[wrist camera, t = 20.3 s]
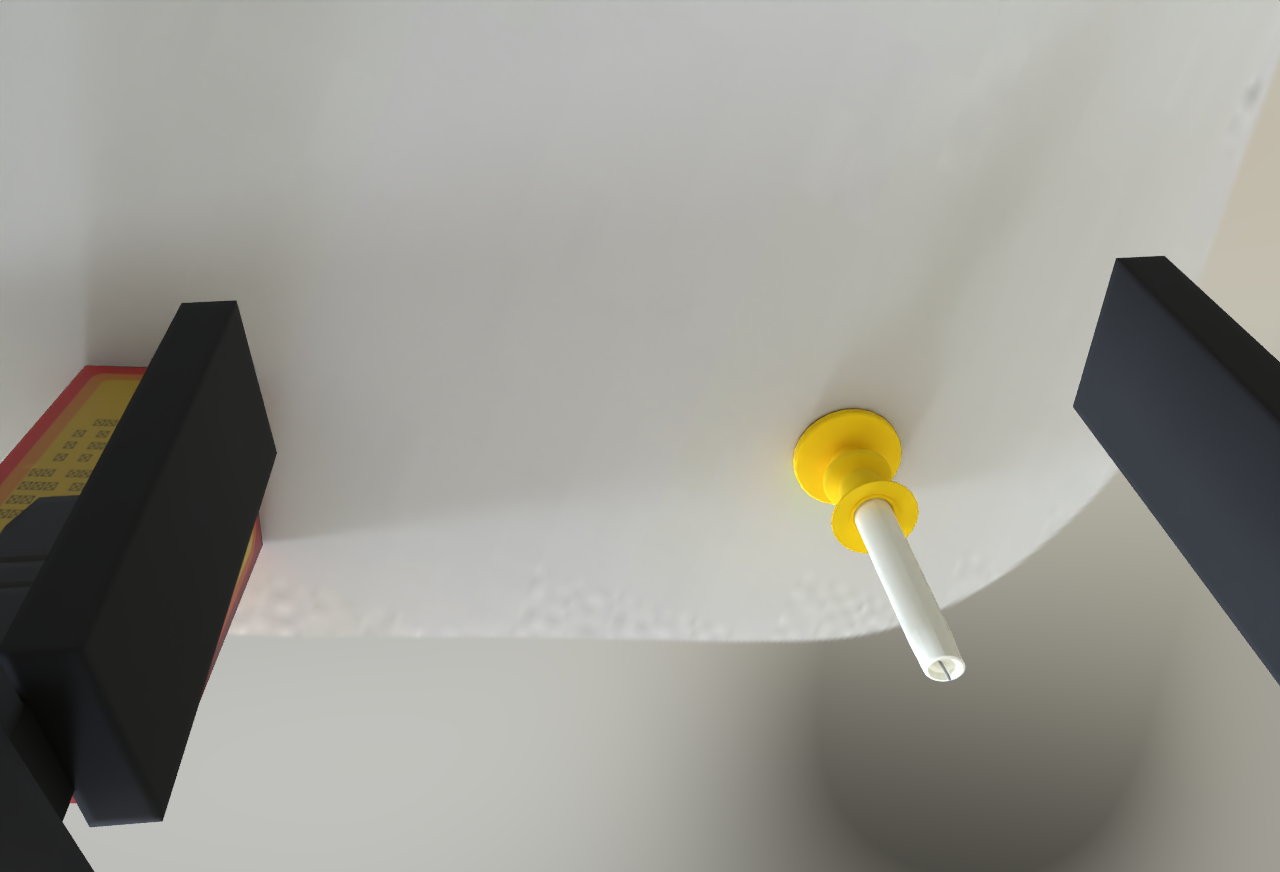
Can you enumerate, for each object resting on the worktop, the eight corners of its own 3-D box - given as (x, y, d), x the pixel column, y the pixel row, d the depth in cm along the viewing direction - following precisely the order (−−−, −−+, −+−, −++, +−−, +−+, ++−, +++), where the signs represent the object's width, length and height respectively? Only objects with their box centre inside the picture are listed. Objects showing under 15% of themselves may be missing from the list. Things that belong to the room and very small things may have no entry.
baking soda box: (85, 365, 46) (-116, 599, 32) (239, 370, 46) (108, 601, 33) (122, 542, 50) (-39, 812, 37) (262, 544, 51) (155, 811, 37)
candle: (847, 516, 53) (948, 752, 39) (770, 465, 51) (849, 695, 38) (920, 444, 51) (1052, 666, 38) (843, 388, 49) (953, 601, 36)
